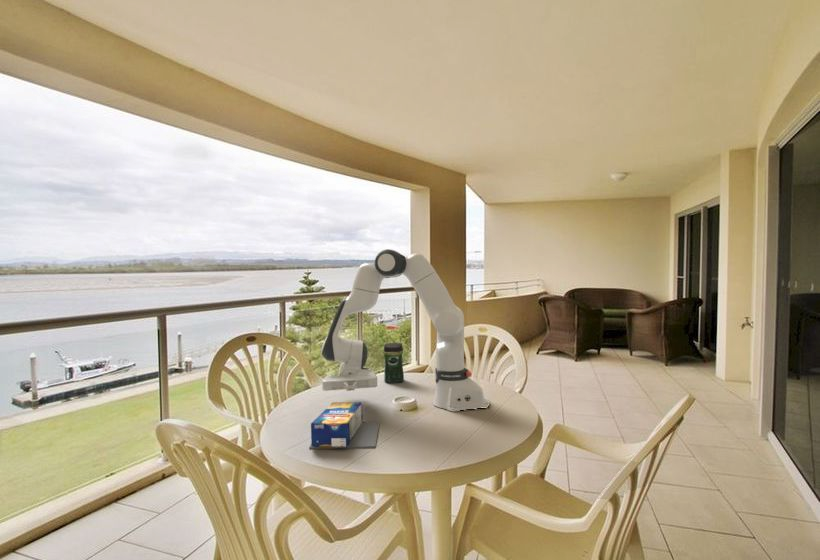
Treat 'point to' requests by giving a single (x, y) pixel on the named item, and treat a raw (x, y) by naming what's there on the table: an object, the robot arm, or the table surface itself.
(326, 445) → the blue cardboard box
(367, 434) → the mat
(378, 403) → the table surface
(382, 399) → the table surface
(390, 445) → the table surface
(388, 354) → the coffee jar
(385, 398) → the table surface
